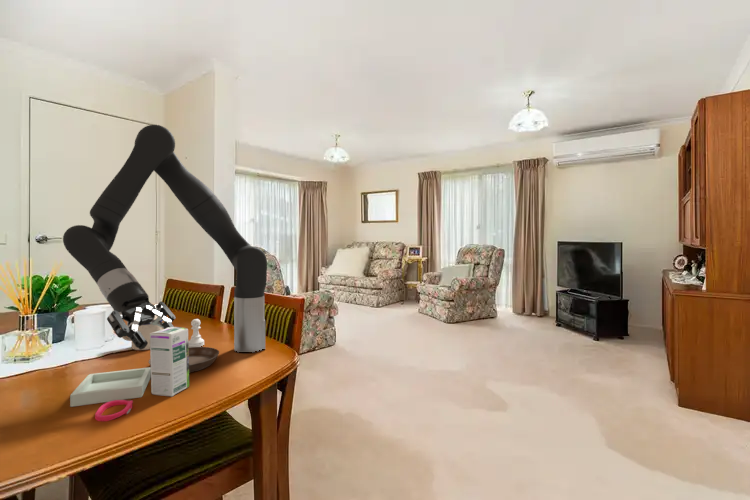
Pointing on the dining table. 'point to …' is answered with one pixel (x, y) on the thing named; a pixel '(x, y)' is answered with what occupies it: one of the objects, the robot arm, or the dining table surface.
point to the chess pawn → (195, 335)
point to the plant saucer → (200, 357)
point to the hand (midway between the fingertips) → (160, 341)
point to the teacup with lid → (145, 334)
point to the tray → (111, 386)
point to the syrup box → (169, 361)
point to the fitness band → (109, 417)
